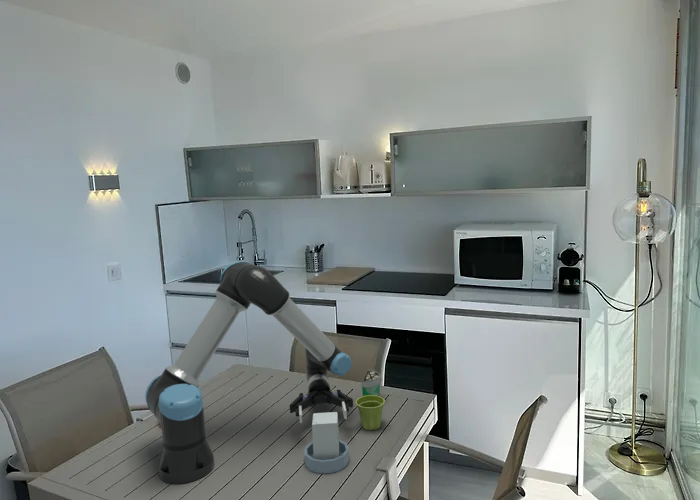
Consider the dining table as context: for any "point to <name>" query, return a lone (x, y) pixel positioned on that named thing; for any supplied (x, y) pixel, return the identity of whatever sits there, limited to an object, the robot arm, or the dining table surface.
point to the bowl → (330, 464)
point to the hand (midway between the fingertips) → (323, 417)
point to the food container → (371, 383)
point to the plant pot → (370, 411)
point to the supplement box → (325, 435)
